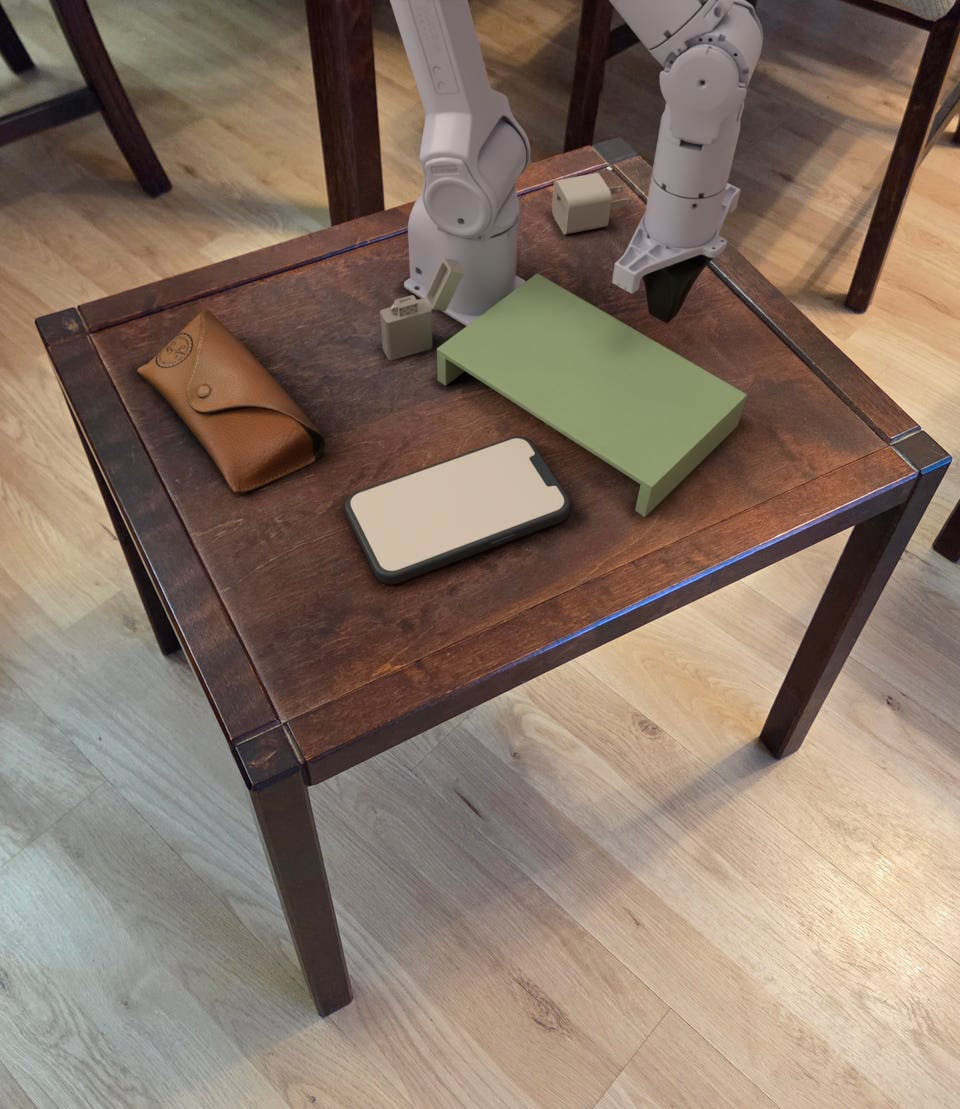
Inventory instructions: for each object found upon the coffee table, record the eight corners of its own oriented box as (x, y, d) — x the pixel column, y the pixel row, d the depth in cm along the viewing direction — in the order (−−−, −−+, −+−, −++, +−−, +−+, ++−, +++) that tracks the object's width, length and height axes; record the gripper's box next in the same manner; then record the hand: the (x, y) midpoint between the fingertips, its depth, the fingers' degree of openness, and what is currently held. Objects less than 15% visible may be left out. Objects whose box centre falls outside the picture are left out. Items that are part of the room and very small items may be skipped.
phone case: (383, 594, 78) (575, 520, 81) (381, 581, 76) (577, 508, 80) (341, 507, 82) (525, 442, 86) (338, 494, 81) (525, 429, 85)
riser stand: (437, 380, 90) (436, 348, 87) (534, 305, 96) (537, 272, 93) (644, 517, 82) (651, 487, 79) (737, 426, 88) (747, 394, 85)
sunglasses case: (127, 368, 90) (147, 299, 86) (198, 368, 95) (220, 303, 91) (237, 500, 81) (264, 429, 78) (308, 492, 87) (336, 426, 83)
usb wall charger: (551, 212, 104) (554, 177, 101) (616, 200, 105) (621, 165, 102) (565, 237, 102) (569, 202, 98) (632, 224, 103) (637, 189, 100)
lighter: (389, 361, 91) (383, 288, 85) (382, 348, 92) (376, 275, 86) (464, 339, 93) (464, 266, 87) (456, 326, 94) (456, 253, 88)
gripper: (677, 243, 75) (649, 381, 86) (786, 155, 81) (747, 293, 92) (599, 202, 78) (582, 340, 89) (710, 120, 84) (681, 258, 95)
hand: (662, 314), depth 91 cm, fingers closed
